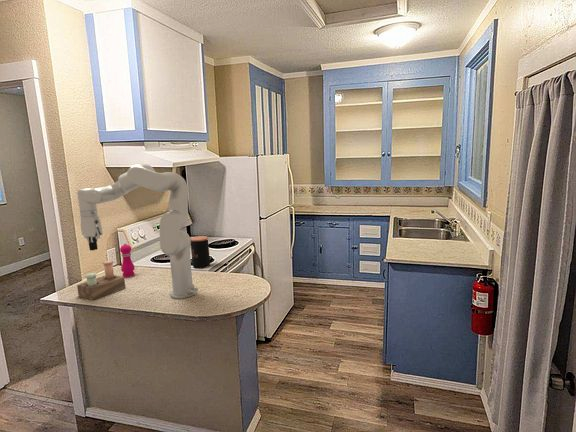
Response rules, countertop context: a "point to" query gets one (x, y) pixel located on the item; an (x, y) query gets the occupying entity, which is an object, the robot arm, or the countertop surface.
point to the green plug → (91, 279)
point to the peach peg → (108, 269)
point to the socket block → (101, 287)
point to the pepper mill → (127, 261)
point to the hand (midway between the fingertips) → (93, 249)
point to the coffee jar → (200, 252)
